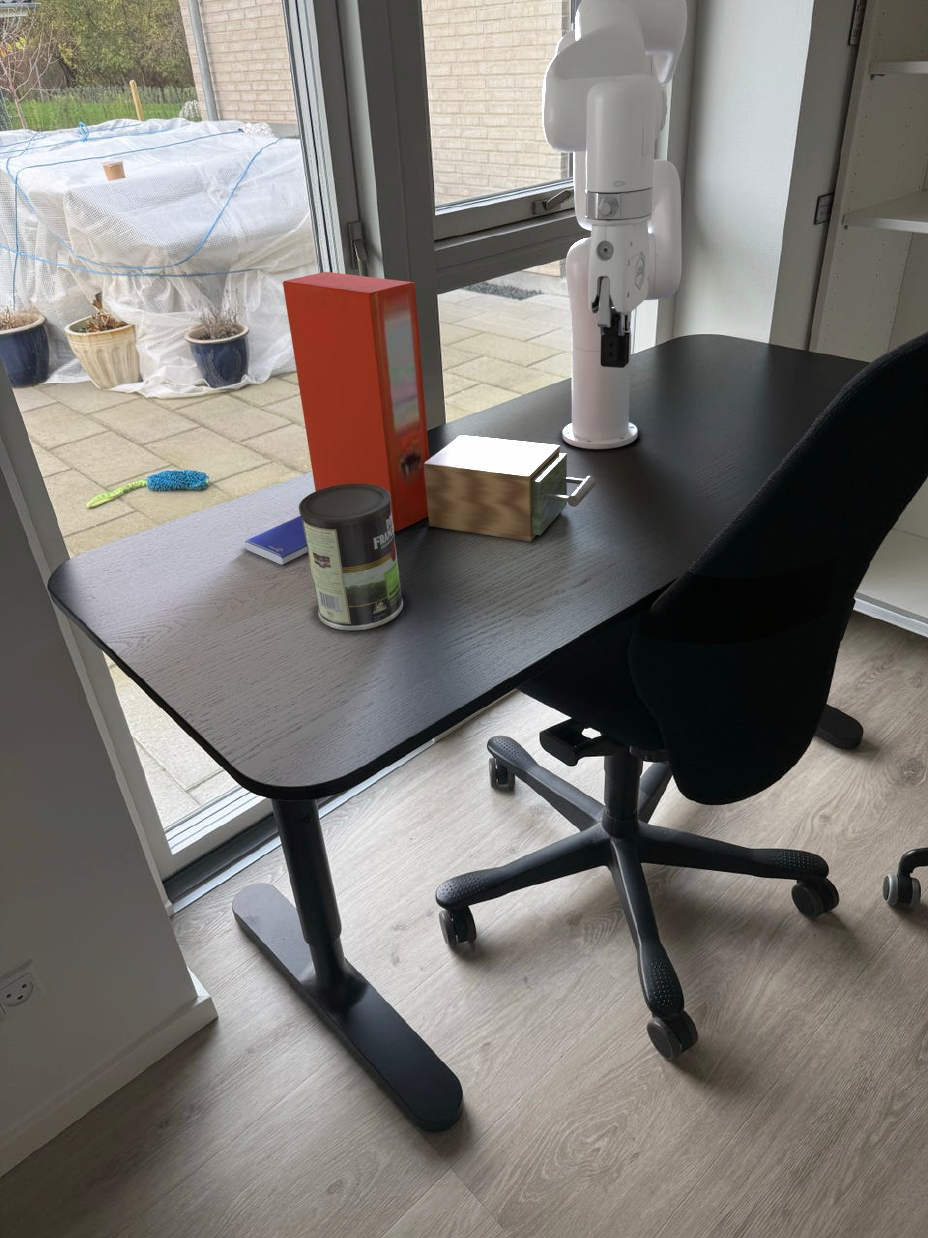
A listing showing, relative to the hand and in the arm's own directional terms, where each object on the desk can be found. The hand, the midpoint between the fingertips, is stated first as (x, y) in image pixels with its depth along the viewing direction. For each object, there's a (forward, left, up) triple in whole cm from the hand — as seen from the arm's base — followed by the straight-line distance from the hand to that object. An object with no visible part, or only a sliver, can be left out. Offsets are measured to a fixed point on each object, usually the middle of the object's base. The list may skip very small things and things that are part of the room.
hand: (614, 364), depth 110 cm
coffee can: (+33, -21, -22) cm, 44 cm away
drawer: (+4, -11, -20) cm, 24 cm away
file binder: (+7, -34, -22) cm, 41 cm away
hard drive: (+20, -39, -22) cm, 48 cm away
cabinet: (+4, -16, -21) cm, 27 cm away
